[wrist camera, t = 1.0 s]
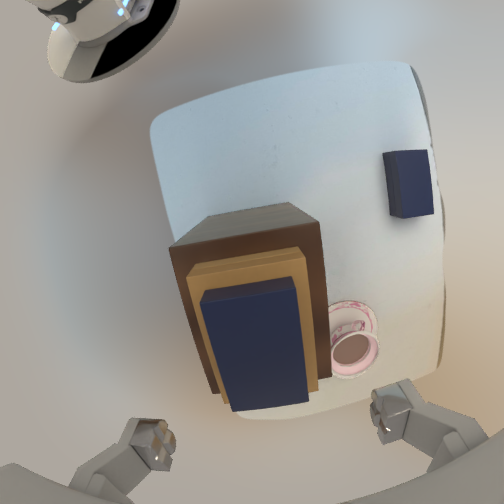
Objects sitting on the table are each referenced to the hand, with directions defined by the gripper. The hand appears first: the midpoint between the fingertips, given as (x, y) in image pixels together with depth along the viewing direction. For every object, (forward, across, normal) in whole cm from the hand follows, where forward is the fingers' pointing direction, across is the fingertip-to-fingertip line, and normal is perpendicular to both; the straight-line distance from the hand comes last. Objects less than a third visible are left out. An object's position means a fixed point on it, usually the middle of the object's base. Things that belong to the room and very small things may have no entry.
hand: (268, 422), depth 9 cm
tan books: (+12, +1, +2) cm, 12 cm away
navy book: (+9, +1, +2) cm, 9 cm away
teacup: (+30, -10, +17) cm, 36 cm away
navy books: (+30, -22, -5) cm, 38 cm away
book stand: (+30, +1, +2) cm, 30 cm away
